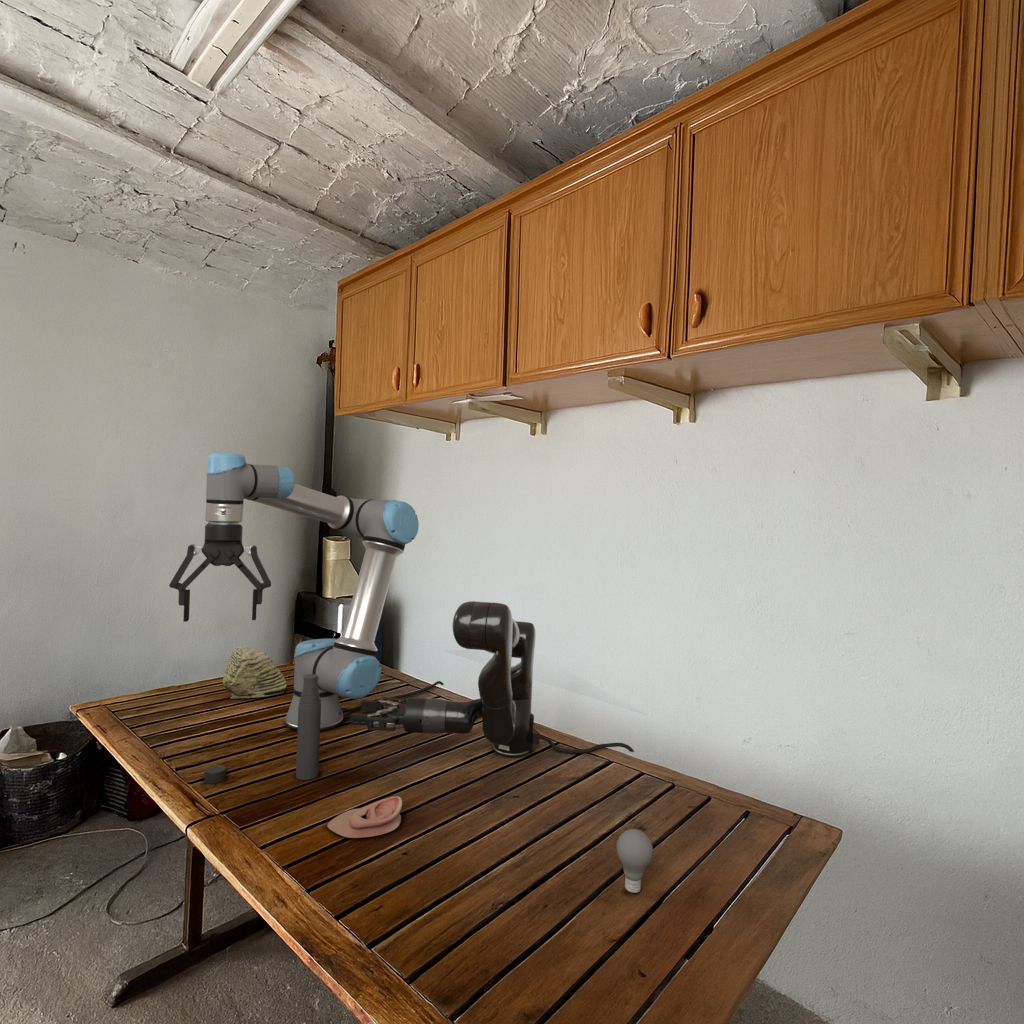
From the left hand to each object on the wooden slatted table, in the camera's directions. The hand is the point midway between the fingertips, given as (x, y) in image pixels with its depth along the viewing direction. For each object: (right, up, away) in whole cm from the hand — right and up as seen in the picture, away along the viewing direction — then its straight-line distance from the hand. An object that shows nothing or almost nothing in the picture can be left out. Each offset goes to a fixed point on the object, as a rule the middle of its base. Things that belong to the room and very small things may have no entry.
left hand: (220, 619), depth 139 cm
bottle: (+18, -36, +4) cm, 40 cm away
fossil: (-17, -34, +59) cm, 70 cm away
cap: (-1, -33, +1) cm, 33 cm away
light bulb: (+84, -40, -34) cm, 99 cm away
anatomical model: (+35, -37, -16) cm, 54 cm away
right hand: (+29, -22, +4) cm, 36 cm away
